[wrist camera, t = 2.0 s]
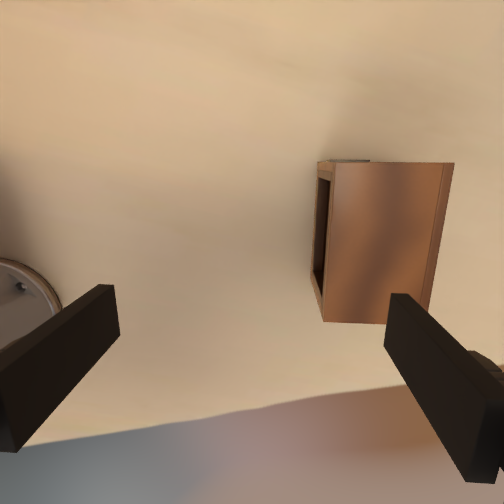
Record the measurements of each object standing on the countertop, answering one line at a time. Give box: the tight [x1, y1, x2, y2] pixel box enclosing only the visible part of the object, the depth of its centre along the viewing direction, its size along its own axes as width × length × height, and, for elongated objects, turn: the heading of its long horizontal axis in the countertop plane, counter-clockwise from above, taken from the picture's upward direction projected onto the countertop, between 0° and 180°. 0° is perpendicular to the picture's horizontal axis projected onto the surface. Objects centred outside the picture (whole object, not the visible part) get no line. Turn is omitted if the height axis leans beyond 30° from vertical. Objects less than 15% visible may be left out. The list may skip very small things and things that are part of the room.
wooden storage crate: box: [311, 160, 454, 324], centre depth 31 cm, size 9×14×11 cm, turn 0°
